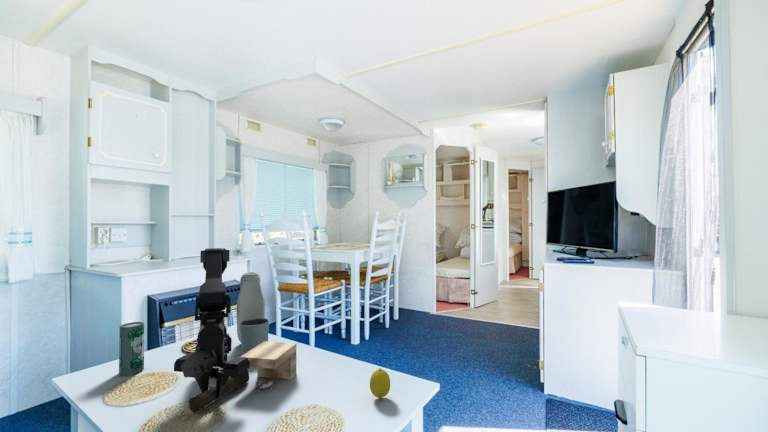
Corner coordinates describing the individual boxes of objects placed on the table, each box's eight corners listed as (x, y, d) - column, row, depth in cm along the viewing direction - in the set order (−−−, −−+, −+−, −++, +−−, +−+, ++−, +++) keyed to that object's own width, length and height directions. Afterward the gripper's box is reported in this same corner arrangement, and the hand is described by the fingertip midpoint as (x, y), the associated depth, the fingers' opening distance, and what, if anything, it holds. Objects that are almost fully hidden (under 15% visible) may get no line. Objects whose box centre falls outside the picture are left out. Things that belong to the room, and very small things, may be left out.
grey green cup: (263, 360, 117) (263, 325, 117) (234, 360, 117) (234, 325, 118) (273, 349, 127) (273, 317, 128) (246, 349, 127) (246, 317, 128)
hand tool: (199, 415, 83) (198, 395, 83) (187, 412, 84) (187, 393, 85) (256, 382, 100) (255, 366, 100) (245, 381, 102) (245, 365, 102)
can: (139, 374, 107) (140, 326, 107) (116, 377, 105) (117, 328, 105) (145, 366, 113) (146, 321, 113) (123, 369, 110) (124, 323, 111)
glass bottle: (254, 337, 141) (254, 270, 141) (269, 342, 135) (269, 272, 135) (231, 344, 133) (232, 273, 133) (246, 350, 127) (246, 275, 127)
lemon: (383, 406, 87) (383, 374, 87) (365, 400, 90) (365, 370, 90) (394, 396, 92) (394, 367, 92) (377, 391, 95) (377, 362, 95)
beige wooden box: (239, 390, 96) (239, 356, 96) (264, 371, 108) (264, 341, 109) (275, 394, 94) (275, 359, 94) (296, 373, 106) (296, 343, 106)
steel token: (253, 391, 96) (253, 384, 96) (261, 384, 100) (261, 377, 100) (267, 392, 95) (267, 385, 95) (275, 385, 99) (275, 378, 99)
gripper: (156, 345, 83) (155, 410, 83) (223, 350, 80) (223, 418, 79) (190, 331, 94) (189, 388, 94) (251, 335, 90) (250, 394, 90)
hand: (211, 397), depth 89 cm, fingers closed on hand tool, 4 cm apart
